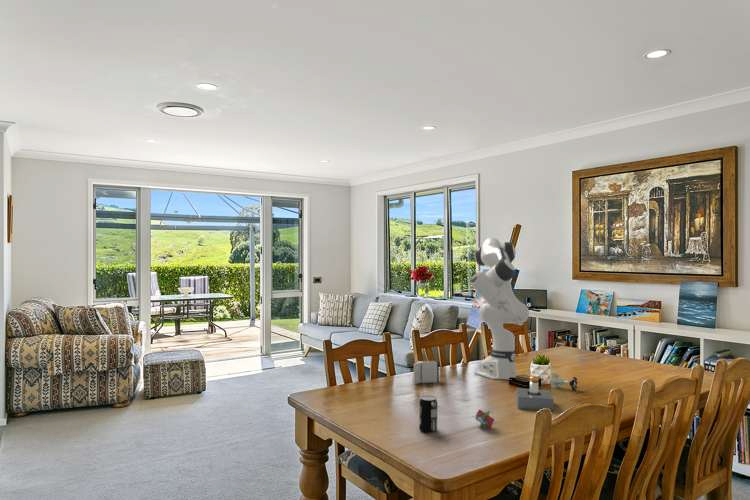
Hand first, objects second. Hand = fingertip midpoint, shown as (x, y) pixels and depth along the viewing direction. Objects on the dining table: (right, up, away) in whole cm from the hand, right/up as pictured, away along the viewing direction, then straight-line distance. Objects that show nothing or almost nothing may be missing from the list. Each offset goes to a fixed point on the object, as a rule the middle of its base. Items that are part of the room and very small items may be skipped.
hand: (520, 322), depth 230 cm
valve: (+24, -34, +13) cm, 43 cm away
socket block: (+2, -33, -14) cm, 36 cm away
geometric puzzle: (-26, -33, -42) cm, 60 cm away
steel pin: (+2, -32, -14) cm, 35 cm away
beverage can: (-47, -33, -45) cm, 73 cm away
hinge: (-41, -33, +23) cm, 58 cm away
